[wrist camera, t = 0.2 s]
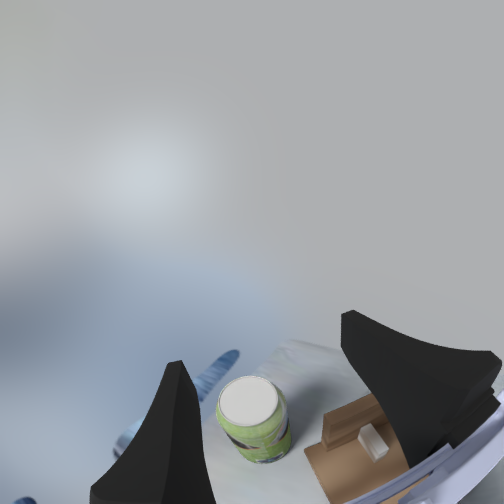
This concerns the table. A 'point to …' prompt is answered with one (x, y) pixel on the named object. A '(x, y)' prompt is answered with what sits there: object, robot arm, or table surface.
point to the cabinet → (357, 452)
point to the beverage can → (255, 418)
